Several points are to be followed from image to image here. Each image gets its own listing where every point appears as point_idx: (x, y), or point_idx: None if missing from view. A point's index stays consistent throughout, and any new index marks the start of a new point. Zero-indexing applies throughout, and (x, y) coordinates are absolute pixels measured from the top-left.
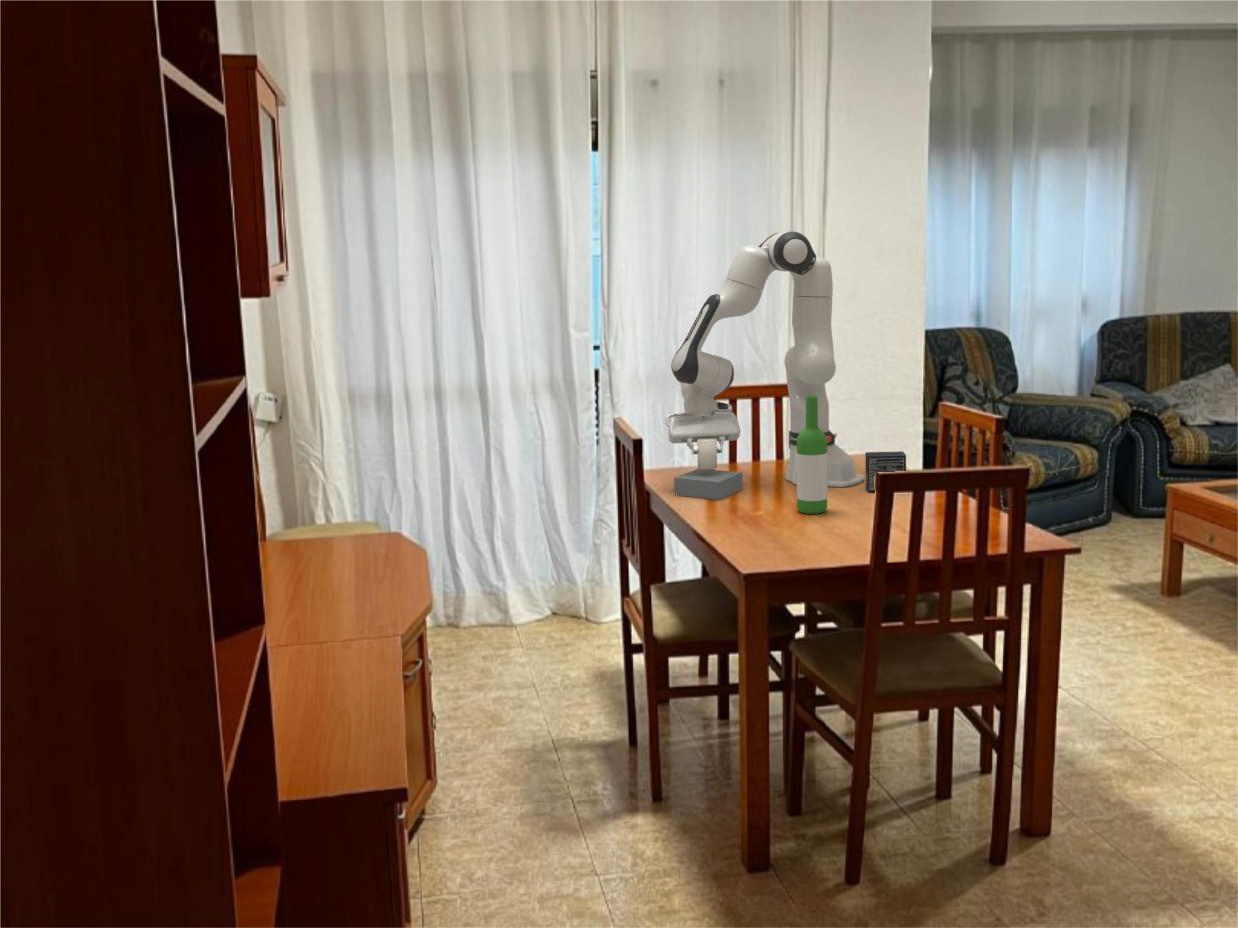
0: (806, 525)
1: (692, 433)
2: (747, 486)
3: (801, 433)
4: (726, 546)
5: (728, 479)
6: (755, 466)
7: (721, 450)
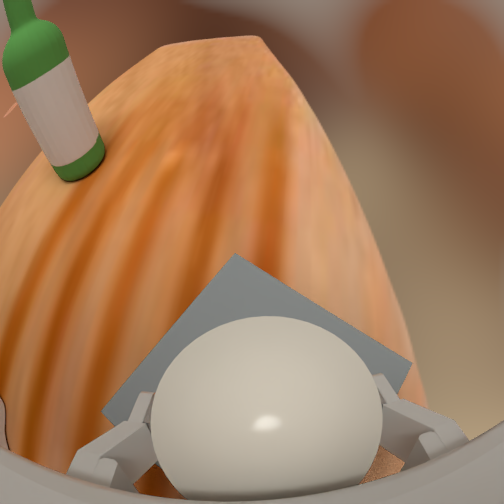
0: (137, 105)
1: (453, 471)
2: None
3: (48, 23)
4: (268, 60)
5: (180, 319)
6: None
7: (152, 392)
